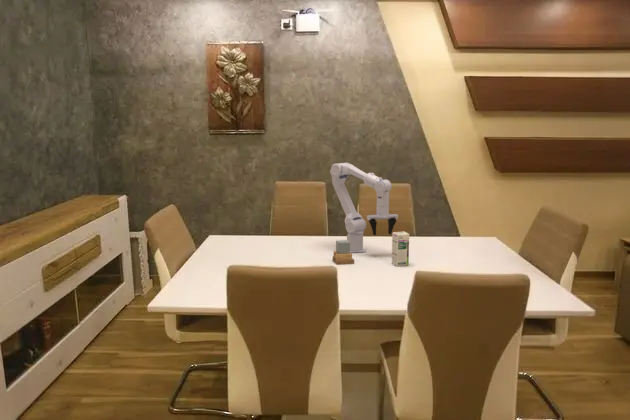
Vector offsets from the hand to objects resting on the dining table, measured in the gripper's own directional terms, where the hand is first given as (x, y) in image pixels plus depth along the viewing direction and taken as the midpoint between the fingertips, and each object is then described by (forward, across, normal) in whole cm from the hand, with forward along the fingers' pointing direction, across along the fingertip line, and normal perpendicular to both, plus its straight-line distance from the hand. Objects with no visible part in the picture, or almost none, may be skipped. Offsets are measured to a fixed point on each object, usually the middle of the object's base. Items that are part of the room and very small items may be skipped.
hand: (382, 234), depth 255 cm
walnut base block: (+11, -21, -7) cm, 25 cm away
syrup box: (+11, +3, -16) cm, 19 cm away
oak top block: (+8, -21, -6) cm, 24 cm away
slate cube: (+6, -21, -6) cm, 23 cm away
